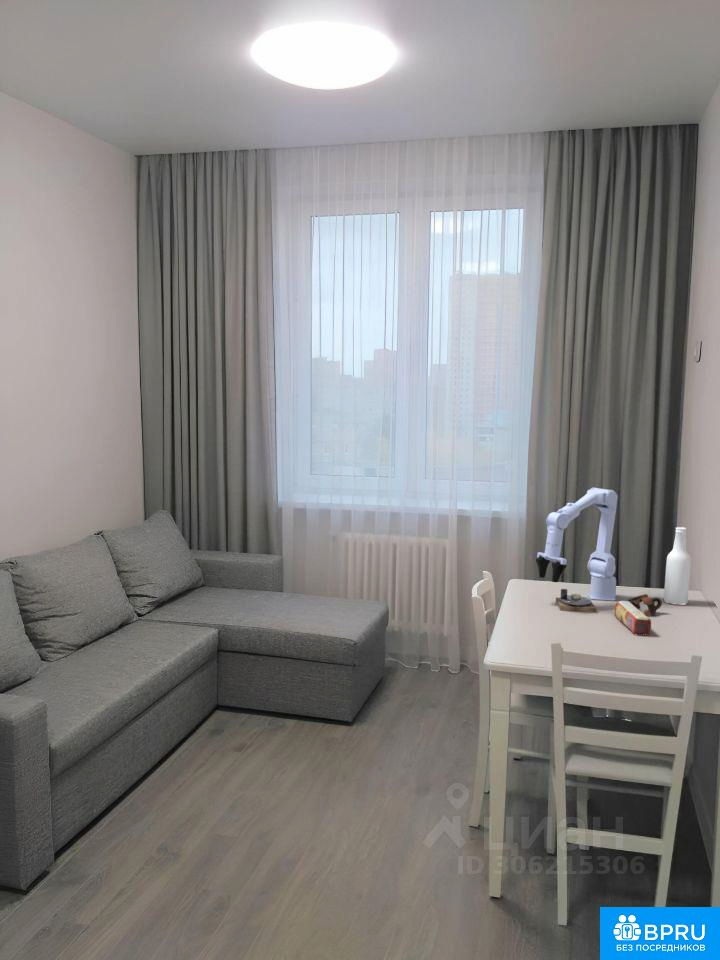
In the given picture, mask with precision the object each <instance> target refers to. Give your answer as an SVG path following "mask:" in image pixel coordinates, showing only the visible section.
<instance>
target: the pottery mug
mask: <svg viewBox="0 0 720 960" xmlns="http://www.w3.org/2000/svg"><path fill="white" fill-rule="evenodd" d="M627 601H628V602H630V603H632V604H633V605H634V606H635V607H636V608H637V609H638V610H640V609H641V606H640V603H643V604H644V605H646V606H647V609H646V610H644V611H643V614H644V615H645V616H648V617H651V616H656V615H657V610H659V609H661V607H662V604H663V601H662V599H661V598H660V597H657V596H655V597H649V595H648V594H647V593H646V594H645V593H644V594H641V595H638V596H634V597H631V598H629V599H628V600H627ZM655 602H656V603H657V604H656V605H655Z"/></svg>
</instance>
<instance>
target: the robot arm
mask: <svg viewBox="0 0 720 960" xmlns="http://www.w3.org/2000/svg"><path fill="white" fill-rule="evenodd" d="M618 497H619V496H618V494H617V492H616V491H615V490H614V489H606V488H597V487H595V486H594V487H591V488H590V489H588V490H587V491H586V494H585V495H583V496H582V497H581V498H579V500H577V501H575V503H573V502H568V503H565V504H566V505H565V506H563V507H562V508H560V509H558V510H557V511H556V512H555V511H552V512H550V513H549V514H548V515H547V517H546V518H545V523H546V526H547V527H546V530H547V534H546V541H545V548H544V552H540V551H538V552H537V555H536V558H535V561H536V564H537V568H538V569H537V570H538V576H539V577H538V578H543V579H545V577H546V575H547V570H548V567H549V564H550V562H551V566H552V575H551V576H552V578H551V581H552V583H558V582H559V580H560V578H561V575H562V574H563V572H564V571H565V569H566V568H567V562H568V561H567V559H566V558H564V557H561V550H562V545H563V537H564V531H565V529H567V528H568V526H569V524H570V523H571V521H573V520H574V519H576V518H577V517H578V516H580V513H581V511H582V510H584V509H586V508H588V507H589V506H591V505H593V506H595V507H596V508H597V509H599V512H600V519H599V527H598V534H597V540H596V541H597V542H596V549H595V551H594V552H592V553H590V556H589V560H588V562H587V570H588V571H589V574H590V575H591V577H590V591H589V593H587V596H588V597H589V599H590V600H596V601H597V600H598V601H601V600H602V601H616V593H617V578H616V576H614V575H615V573H616V569H617V568H616V558H615V557H614V556H613V554H612V553H611V548H612V541H613V534H614V527H615V520H616V513H617V505H618Z"/></svg>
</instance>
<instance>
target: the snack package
mask: <svg viewBox="0 0 720 960" xmlns="http://www.w3.org/2000/svg"><path fill="white" fill-rule="evenodd" d="M613 613H614V614H613V615H614V617H615V618H616V619H617V620H619V621H620V622H621V623H622V624H623V625H624V626H626V628H628V630H630V631H631V632H632V634H634V635H635V634H637V635H636V636H646V635H645V634H648V635H649V634H650V633H651V631H652V621H651V618H649V616H648V617H647V616H645V613H644V612H642V611H641V610H640V609H637V608H636V607H635V606H634V605H633V604H632V603H630V602H629V601H628V600H620V601H618V602H616V603H615V604H614V610H613ZM643 634H644V635H643Z"/></svg>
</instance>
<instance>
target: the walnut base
mask: <svg viewBox="0 0 720 960" xmlns="http://www.w3.org/2000/svg"><path fill="white" fill-rule="evenodd" d="M555 603H556V605H557V607H558V608H559V610H560V611H565V612H566V611H568V612H580V613H581V612H583V613H584V612H585V613H597V608H596V606H595V604H594V603H593V601H591V604H590V605H588V606H572V605H567V604H564V603H562V602H561V597H555Z"/></svg>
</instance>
